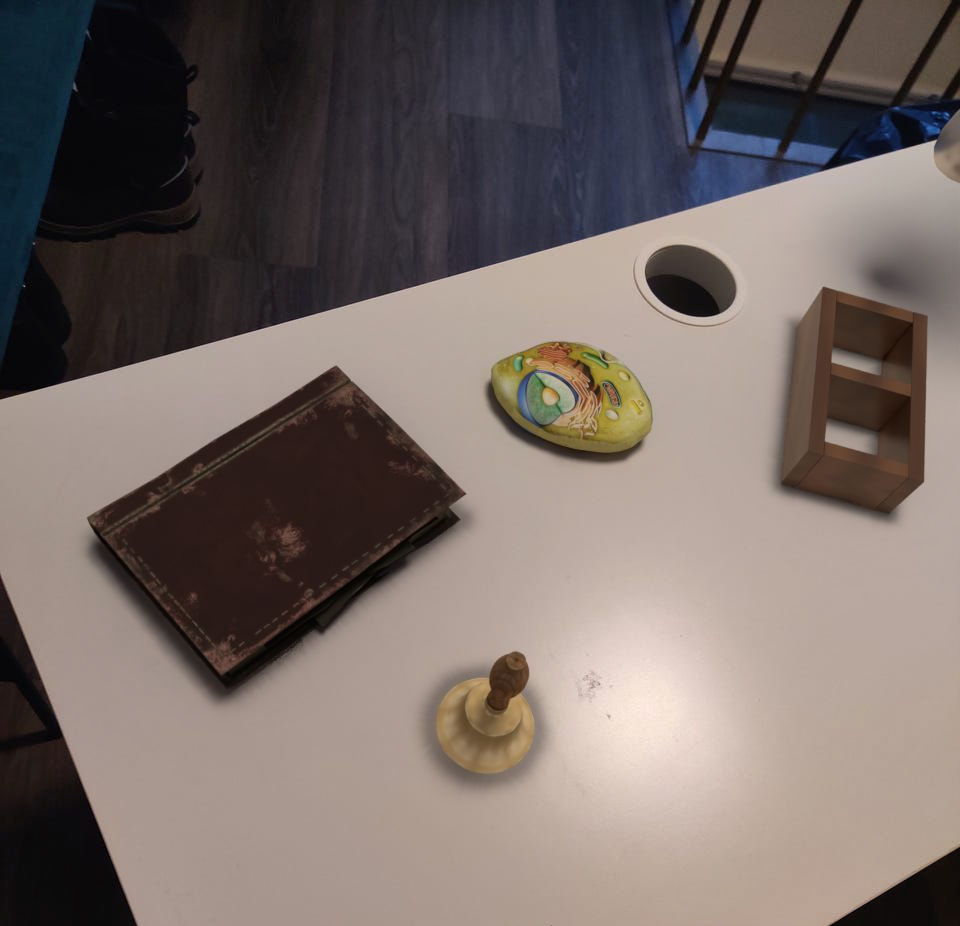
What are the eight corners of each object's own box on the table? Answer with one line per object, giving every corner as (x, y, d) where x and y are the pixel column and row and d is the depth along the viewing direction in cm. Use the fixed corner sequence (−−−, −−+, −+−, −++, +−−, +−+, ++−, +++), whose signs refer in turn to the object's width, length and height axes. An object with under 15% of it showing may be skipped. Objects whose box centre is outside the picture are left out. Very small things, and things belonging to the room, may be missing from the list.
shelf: (893, 356, 90) (927, 315, 84) (886, 516, 82) (924, 482, 76) (795, 329, 90) (823, 286, 84) (778, 486, 81) (808, 450, 76)
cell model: (639, 473, 77) (503, 386, 72) (595, 490, 84) (469, 412, 79) (679, 373, 79) (550, 282, 74) (633, 398, 86) (512, 316, 81)
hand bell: (544, 767, 68) (594, 707, 53) (443, 784, 66) (466, 727, 52) (523, 671, 71) (564, 590, 56) (425, 686, 69) (442, 605, 55)
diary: (98, 540, 70) (79, 509, 66) (333, 392, 79) (331, 356, 74) (235, 701, 67) (226, 680, 62) (466, 528, 75) (473, 498, 71)
